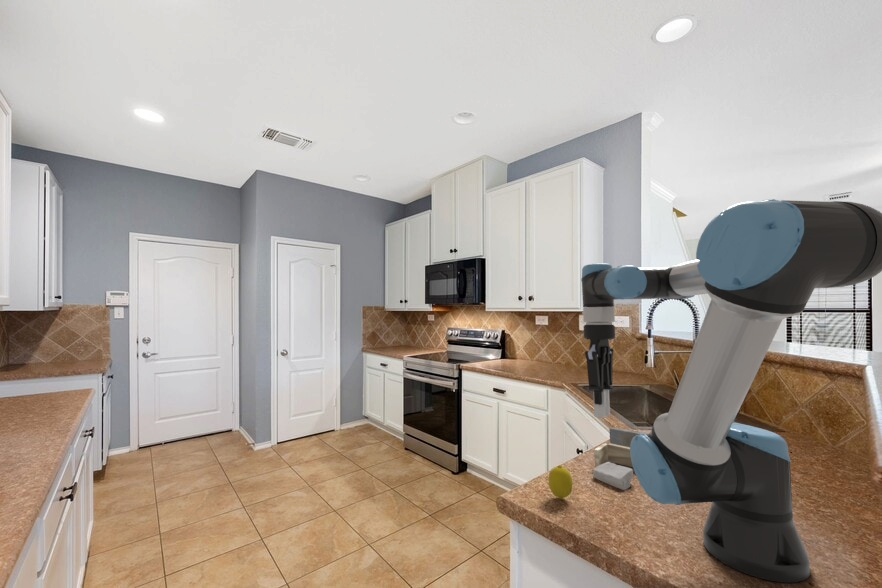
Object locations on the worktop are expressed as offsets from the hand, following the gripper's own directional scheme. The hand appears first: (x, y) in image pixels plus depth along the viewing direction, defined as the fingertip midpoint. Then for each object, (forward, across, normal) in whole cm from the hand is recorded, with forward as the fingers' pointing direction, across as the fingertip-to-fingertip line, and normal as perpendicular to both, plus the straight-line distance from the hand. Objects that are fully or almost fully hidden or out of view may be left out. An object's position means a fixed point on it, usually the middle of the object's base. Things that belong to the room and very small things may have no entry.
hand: (602, 415), depth 99 cm
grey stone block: (+19, -7, 0) cm, 20 cm away
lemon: (+19, +12, -6) cm, 23 cm away
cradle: (+18, -16, 0) cm, 24 cm away
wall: (+18, -28, 0) cm, 33 cm away
